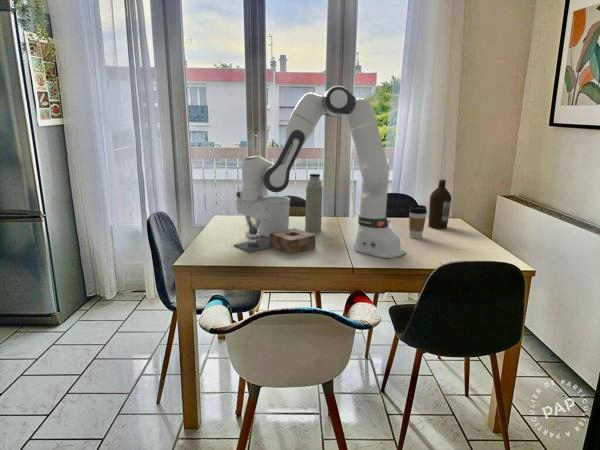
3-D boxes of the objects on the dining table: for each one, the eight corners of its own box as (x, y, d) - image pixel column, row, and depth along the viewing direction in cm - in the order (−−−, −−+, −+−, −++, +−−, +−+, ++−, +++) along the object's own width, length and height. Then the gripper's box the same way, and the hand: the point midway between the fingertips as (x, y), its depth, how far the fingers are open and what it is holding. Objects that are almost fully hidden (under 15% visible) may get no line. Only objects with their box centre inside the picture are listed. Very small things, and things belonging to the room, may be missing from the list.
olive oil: (423, 226, 226) (427, 179, 220) (433, 223, 234) (438, 177, 227) (441, 230, 219) (447, 182, 213) (451, 227, 226) (457, 180, 220)
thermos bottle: (305, 227, 219) (307, 172, 212) (321, 228, 219) (323, 173, 212) (304, 231, 212) (305, 175, 205) (320, 232, 211) (322, 175, 204)
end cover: (263, 245, 185) (263, 225, 183) (251, 248, 181) (251, 227, 179) (255, 242, 190) (254, 222, 188) (242, 244, 186) (242, 224, 184)
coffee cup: (427, 237, 207) (430, 206, 203) (419, 240, 201) (422, 209, 197) (411, 233, 212) (414, 203, 209) (403, 236, 206) (405, 206, 203)
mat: (272, 247, 185) (272, 246, 185) (249, 252, 178) (249, 251, 177) (256, 241, 194) (256, 239, 194) (233, 245, 186) (233, 244, 186)
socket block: (315, 248, 186) (315, 234, 184) (290, 254, 177) (290, 240, 175) (294, 240, 196) (294, 228, 194) (269, 246, 187) (269, 233, 185)
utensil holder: (269, 228, 216) (270, 194, 212) (295, 232, 209) (295, 197, 205) (252, 234, 204) (252, 198, 200) (278, 239, 197) (279, 202, 193)
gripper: (274, 198, 175) (273, 230, 178) (245, 190, 190) (246, 221, 193) (261, 199, 171) (261, 233, 174) (233, 192, 185) (234, 223, 189)
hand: (253, 226), depth 184 cm, fingers open, 4 cm apart
